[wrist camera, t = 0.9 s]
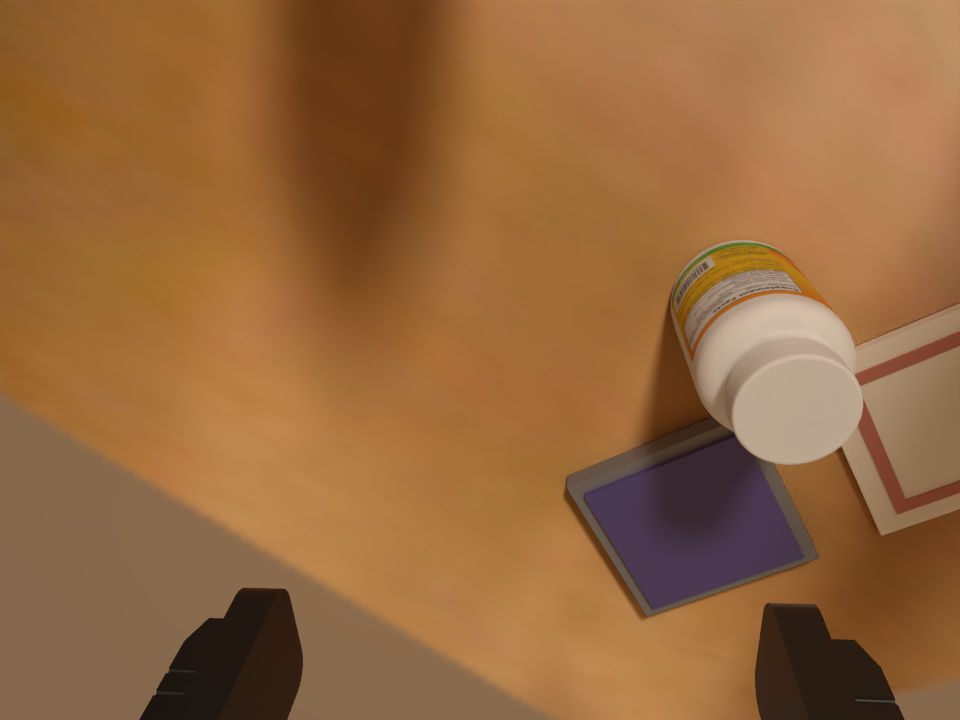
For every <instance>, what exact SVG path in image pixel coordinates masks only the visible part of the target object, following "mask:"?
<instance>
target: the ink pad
mask: <svg viewBox="0 0 960 720" xmlns="http://www.w3.org/2000/svg"><path fill="white" fill-rule="evenodd" d="M567 490H568V491H569V493H570V494H571V496H572V498H573V499H574V501H575V502H576V504H577V506H578V507H579V509H580V510H581V512H582V514H583V515H584V517H585V518H586V520H587V522H588V523H589V525H590V526H591V528H592V530H593V531H594V533H595V534H596V536H597V538H598V539H599V541H600V542H601V544H602V546H603V547H604V549H605V550H606V552H607V554H608V555H609V557H610V558H611V560H612V562H613V563H614V565H615V566H616V568H617V570H618V571H619V573H620V574H621V576H622V578H623V579H624V581H625V582H626V584H627V586H628V587H629V589H630V590H631V592H632V594H633V595H634V597H635V598H636V600H637V602H638V603H639V605H640V606H641V608H642V610H643V611H644V613H645V614H646V616H647V617H648V616H651V615H654V614H657V613H660V612H663V611H666V610H669V609H672V608H675V607H678V606H680V605H683V604H686V603H689V602H692V601H695V600H698V599H701V598H704V597H707V596H710V595H713V594H716V593H719V592H722V591H725V590H728V589H730V588H733V587H736V586H739V585H742V584H745V583H748V582H751V581H754V580H757V579H760V578H763V577H766V576H769V575H772V574H775V573H777V572H780V571H783V570H786V569H789V568H792V567H795V566H798V565H801V564H804V563H807V562H810V561H813V560H816V559H819V555H818V553H817V551H816V549H815V547H814V544H813V542H812V540H811V538H810V536H809V534H808V532H807V530H806V528H805V526H804V524H803V522H802V520H801V518H800V516H799V514H798V512H797V510H796V508H795V506H794V504H793V502H792V499H791V497H790V495H789V493H788V491H787V489H786V487H785V485H784V483H783V481H782V479H781V477H780V475H779V473H778V471H777V469H776V467H775V465H774V463H771V462H768V461H765V460H762V459H760V458H758V457H756V456H754V455H753V454H751V453H750V452H749V451H748V450H746V449H745V448H744V447H743V445H742V444H741V443H740V442H739V440H738V439H737V437H736V435H735V433H734V432H733V431H731V430H729V429H728V428H726V427H725V426H723V425H722V424H720V423H719V422H718V421H717V420H715V419H714V418H713V417H710V418H708V419H705V420H703V421H700V422H698V423H695V424H693V425H691V426H688V427H686V428H683V429H681V430H678V431H676V432H674V433H671V434H669V435H666V436H664V437H661V438H659V439H657V440H654V441H652V442H649V443H647V444H645V445H642V446H640V447H637V448H635V449H632V450H630V451H628V452H625V453H623V454H620V455H618V456H615V457H613V458H611V459H608V460H606V461H603V462H601V463H598V464H596V465H594V466H591V467H589V468H586V469H584V470H581V471H579V472H577V473H574V474H572V475H569V476H567Z"/></svg>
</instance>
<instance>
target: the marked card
mask: <svg viewBox="0 0 960 720" xmlns="http://www.w3.org/2000/svg"><path fill="white" fill-rule="evenodd" d="M855 350H856V358H857V364H856V373H855V377H856V379H857V381H858V383H859V385H860V387H861V390H862V394H863V410H862V416H861V419H860V421H859V423H858V426H857V428H856V430H855V431H854V433H853V434H852V435H851V437H850V438H849V439H848V440H847V441H846V442H845V443H844V444H843V445H842V446H841V448H842V450H843V452H844V454H845V457H846V459H847V461H848V463H849V466H850V468H851V470H852V472H853V475H854V477H855V479H856V481H857V484H858V486H859V488H860V490H861V493H862V495H863V497H864V499H865V502H866V504H867V506H868V508H869V511H870V513H871V515H872V517H873V520H874V522H875V524H876V526H877V529H878V531H879V532H880V534H881V536H883V535H886V534H889V533H892V532H894V531H897V530H900V529H903V528H906V527H909V526H912V525H915V524H918V523H921V522H924V521H927V520H930V519H933V518H936V517H939V516H941V515H944V514H947V513H950V512H953V511H956V510H959V509H960V303H959V304H957V305H954V306H952V307H949V308H947V309H945V310H942V311H940V312H937V313H935V314H933V315H930V316H928V317H925V318H923V319H921V320H918V321H916V322H913V323H911V324H909V325H906V326H904V327H901V328H899V329H897V330H894V331H892V332H889V333H887V334H885V335H882V336H880V337H877V338H875V339H873V340H870V341H868V342H865V343H863V344H861V345H858V346H856V347H855Z"/></svg>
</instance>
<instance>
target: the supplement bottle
mask: <svg viewBox="0 0 960 720" xmlns="http://www.w3.org/2000/svg"><path fill="white" fill-rule="evenodd" d="M671 316H672V320H673V323H674V327H675V330H676V333H677V336H678V339H679V342H680V344H681V347H682V350H683V353H684V356H685V359H686V362H687V365H688V368H689V371H690V373H691V377H692V380H693V383H694V386H695V388H696V391H697V393H698V395H699V397H700V400H701V402H702V404H703V405H704V407H705V408H706V410H707V411H708V412H709V413H710V415H711V416H712V417H713V418H714V419H715V420H717V421H718V422H719V423H720V424H722V425H723V426H725V427H726V428H728V429H729V430H731V431H733V432H734V433H735V435H736V437H737V439H738V440H739V442H740V443H741V444H742V445H743V447H744V448H745V449H746V450H748V451H749V452H750V453H751V454H753V455H754V456H756V457H758V458H760V459H762V460H765V461H768V462H771V463H776V464H784V465H797V464H804V463H808V462H812V461H816V460H818V459H821V458H823V457H825V456H827V455H829V454H831V453H832V452H834V451H836V450H837V449H838V448H839V447H841V446H842V445H843V444H844V443H845V442H846V441H847V440H848V439H849V438H850V437H851V435H852V434H853V433H854V431H855V430H856V428H857V426H858V423H859V421H860V419H861V416H862V410H863V394H862V390H861V387H860V385H859V383H858V381H857V379H856V377H855V373H856V364H857V358H856V350H855V346H854V342H853V339H852V337H851V335H850V333H849V331H848V329H847V328H846V326H845V325H844V324H843V322H842V321H841V319H840V318H839V317H838V316H837V314H836V313H835V312H834V311H833V310H832V308H831V307H830V306H829V305H828V304H827V302H826V301H825V300H824V299H823V298H822V297H821V295H820V294H819V293H818V292H817V291H816V289H815V288H814V287H813V286H812V285H811V284H810V282H809V281H808V280H807V279H806V278H805V276H804V275H803V274H802V273H801V272H800V271H799V269H798V268H797V267H796V266H795V265H794V263H793V262H792V261H791V260H790V259H789V258H788V257H787V256H785V255H784V254H783V253H782V252H781V251H779V250H778V249H776V248H774V247H772V246H770V245H767V244H765V243H761V242H757V241H751V240H734V241H727V242H723V243H720V244H717V245H714V246H712V247H710V248H708V249H706V250H704V251H703V252H701V253H700V254H698V255H697V256H696V257H695V258H693V259H692V260H691V261H690V262H689V263H688V264H687V265H686V266H685V267H684V269H683V270H682V272H681V273H680V275H679V276H678V278H677V280H676V282H675V285H674V287H673V291H672V295H671Z"/></svg>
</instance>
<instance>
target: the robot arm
mask: <svg viewBox="0 0 960 720" xmlns="http://www.w3.org/2000/svg"><path fill="white" fill-rule="evenodd" d="M302 655H303V654H302V648H301V644H300V639H299V635H298V631H297V626H296V622H295V618H294V613H293V609H292V604H291V600H290V596H289V593H288V592H287V591H286V590H285V589H270V588H242V589H241V590H240V591H239V592H238V593H237V594H236V596H235V598H234V600H233V602H232V604H231V605H230V607H229V609H228V611H227V613H226V615H225V617H224V618H223V619H222V618H209V619H208V620H207V621H205V622H204V623H203V624H202V625H201V626H200V627H199V628H198V629H197V630H196V631H195V632H194V633H193V634H191V635H190V636H189V637H188V638H187V639H186V640H185V641H184V643H183V644H182V646H181V648H180V650H179V652H178V653H177V655H176V657H175V658H174V660H173V662H172V664H171V665H170V667H169V673H166V674H165V676H164V678H163V679H162V681H161V683H160V685H159V686H158V688H157V693H156V695H153V697H152V699H151V700H150V702H149V704H148V705H147V707H146V709H145V711H144V712H143V714H142V716H141V718H140V719H139V720H287V719H288V716H289V713H290V711H291V708H292V705H293V703H294V700H295V697H296V694H297V692H298V689H299V686H300V682H301V676H302V668H303V656H302ZM755 688H756V698H757V704H758V709H759V713H760V717H761V720H904V717H903V715H902V713H901V711H900V709H899V706H898V705H896V704H895V698H894V695H893V693H892V691H891V689H890V687H889V684H888V682H887V680H886V678H885V676H884V673H883V671H882V669H881V667H880V666H879V665H878V664H877V663H876V662H875V661H874V660H873V659H872V658H871V657H870V656H869V655H868V654H867V653H866V651H865V650H864V649H863V648H862V647H861V646H860V645H859V644H858V643H857V642H856V641H855V640H837V639H831V637H830V634H829V632H828V629H827V627H826V624H825V622H824V619H823V617H822V614H821V612H820V610H819V609H818V607H817V606H816V605H814V604H780V603H767V604H766V605H765V607H764V612H763V618H762V625H761V632H760V640H759V647H758V654H757V661H756V669H755Z"/></svg>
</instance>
